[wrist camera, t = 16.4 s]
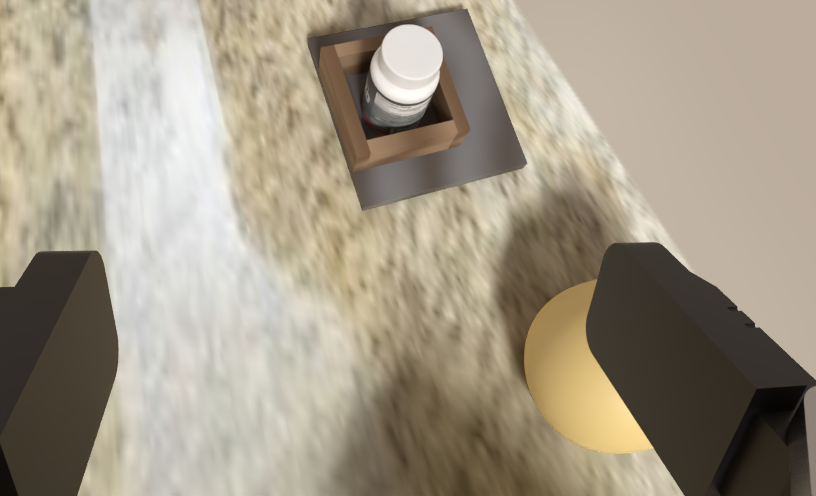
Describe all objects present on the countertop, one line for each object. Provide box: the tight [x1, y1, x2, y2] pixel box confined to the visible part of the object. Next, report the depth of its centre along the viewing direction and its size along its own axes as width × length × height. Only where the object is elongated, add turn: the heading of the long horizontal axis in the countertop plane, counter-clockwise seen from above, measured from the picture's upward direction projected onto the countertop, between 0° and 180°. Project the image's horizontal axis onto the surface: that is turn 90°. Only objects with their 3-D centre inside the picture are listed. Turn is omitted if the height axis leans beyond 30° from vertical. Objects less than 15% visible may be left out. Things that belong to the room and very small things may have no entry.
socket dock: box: [308, 9, 527, 211], centre depth 47 cm, size 13×14×4 cm
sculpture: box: [524, 279, 654, 454], centre depth 41 cm, size 12×12×11 cm
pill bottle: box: [361, 24, 443, 136], centre depth 43 cm, size 5×5×8 cm
